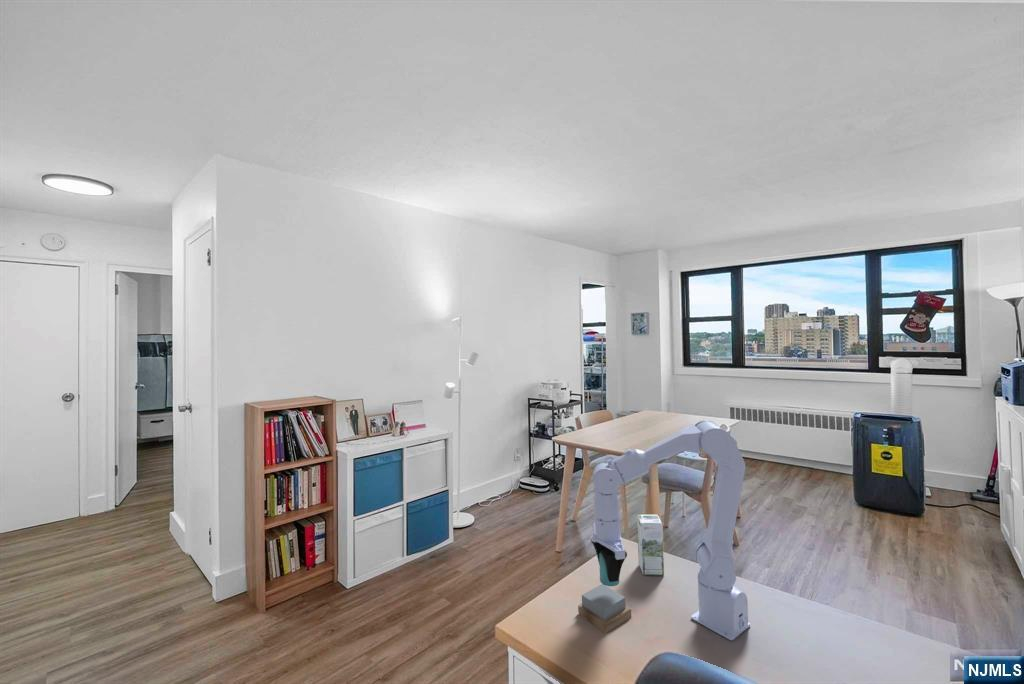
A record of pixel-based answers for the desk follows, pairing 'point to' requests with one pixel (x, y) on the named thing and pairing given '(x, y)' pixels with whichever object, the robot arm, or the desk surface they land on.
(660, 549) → the syrup box
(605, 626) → the walnut slab
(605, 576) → the teal capsule
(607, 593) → the grey slab
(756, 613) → the desk surface
